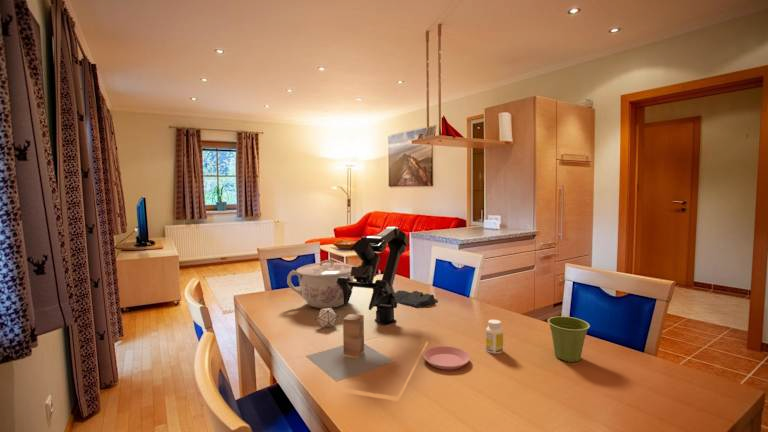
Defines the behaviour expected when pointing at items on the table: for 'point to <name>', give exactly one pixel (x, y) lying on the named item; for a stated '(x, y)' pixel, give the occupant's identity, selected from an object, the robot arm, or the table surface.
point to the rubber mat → (347, 362)
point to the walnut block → (353, 335)
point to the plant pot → (568, 337)
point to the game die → (326, 317)
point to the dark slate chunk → (415, 299)
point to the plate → (446, 357)
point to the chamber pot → (321, 283)
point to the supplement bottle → (494, 337)
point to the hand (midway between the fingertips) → (357, 308)
